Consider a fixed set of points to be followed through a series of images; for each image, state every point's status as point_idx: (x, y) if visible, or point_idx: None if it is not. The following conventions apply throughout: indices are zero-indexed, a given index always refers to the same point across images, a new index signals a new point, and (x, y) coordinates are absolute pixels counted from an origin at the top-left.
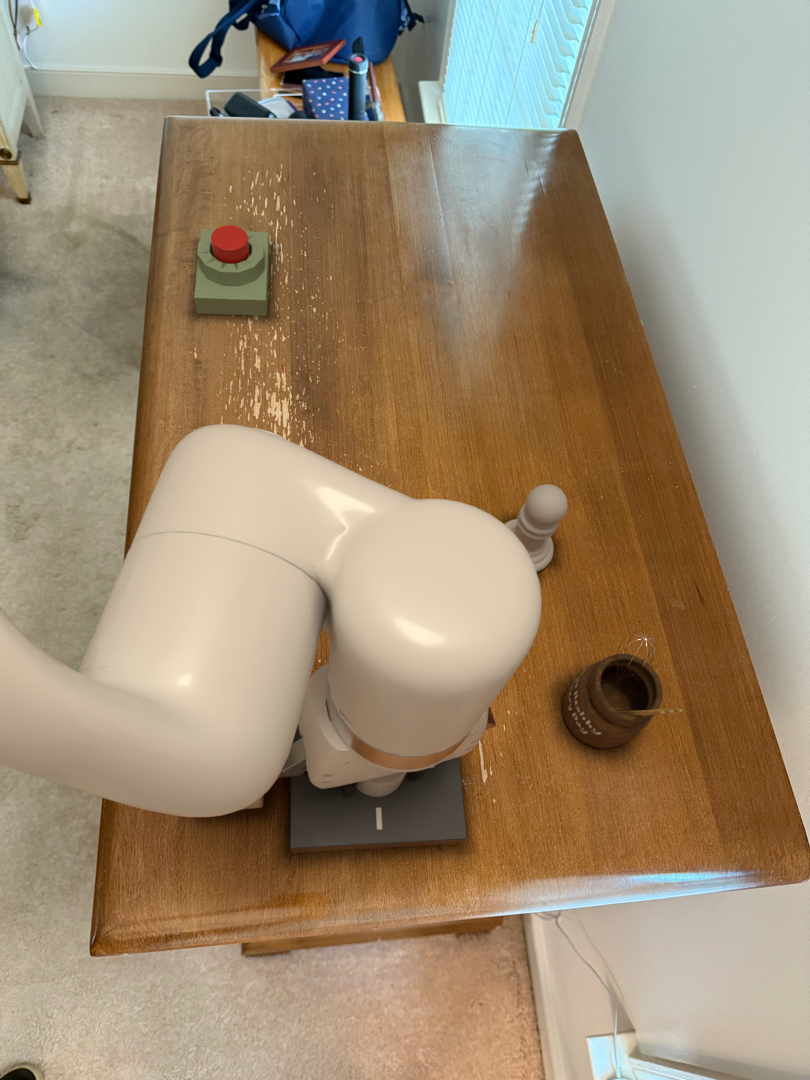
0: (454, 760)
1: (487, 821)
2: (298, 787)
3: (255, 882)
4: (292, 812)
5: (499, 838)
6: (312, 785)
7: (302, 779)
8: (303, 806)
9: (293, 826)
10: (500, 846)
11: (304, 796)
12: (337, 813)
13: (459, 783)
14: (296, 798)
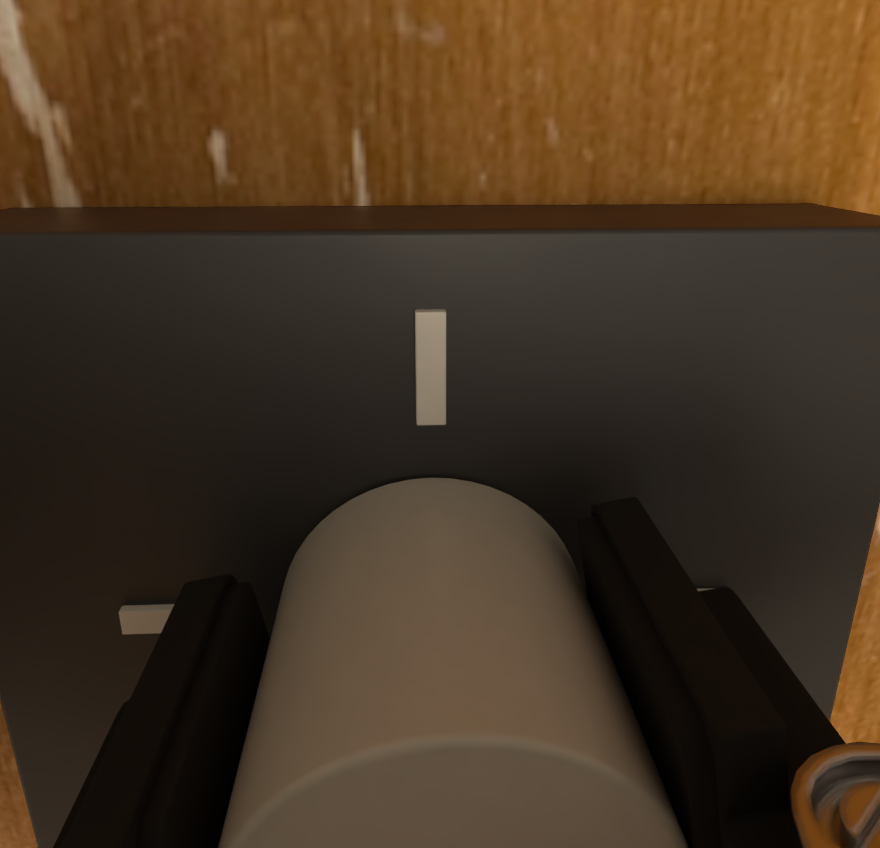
0: (838, 580)
1: (847, 658)
2: (34, 689)
3: (5, 816)
4: (28, 779)
5: (872, 706)
6: (105, 678)
7: (48, 655)
8: (77, 755)
9: (45, 824)
10: (867, 727)
11: (73, 720)
12: None
13: (831, 672)
14: (36, 727)
